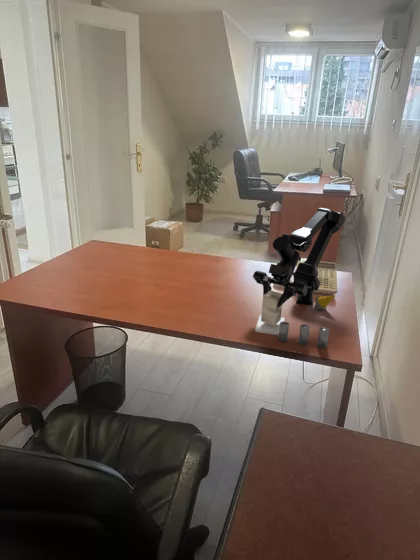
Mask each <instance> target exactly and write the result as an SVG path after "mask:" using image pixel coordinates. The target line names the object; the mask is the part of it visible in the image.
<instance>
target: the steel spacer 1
mask: <svg viewBox="0 0 420 560" xmlns="http://www.w3.org/2000/svg"><path fill="white" fill-rule="evenodd" d="M289 329H290V323H289V322H287V321H284V322H280V326H279V335H277V336H278V337H277V341H279V342H280V343H287V342H288V338H289Z"/></svg>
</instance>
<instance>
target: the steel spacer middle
mask: <svg viewBox="0 0 420 560" xmlns="http://www.w3.org/2000/svg"><path fill="white" fill-rule="evenodd" d="M310 329H311V327H310V326H309V325H308V324H303V323H302V324H300V326H299V333H298V340H297V341H298V342H297V343H298V345H300V346H307V345H308V343H309V336H310Z"/></svg>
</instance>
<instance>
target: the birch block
mask: <svg viewBox="0 0 420 560" xmlns="http://www.w3.org/2000/svg"><path fill="white" fill-rule="evenodd" d="M282 294H283V293H281V292H277V291H274V290H272V289H271V290H270V291H268V292H267V293H266V294H264V295H263V294H262V303H261V321H262V322H265V323H268V324H271V325H273V326H274V325H275V324H276V323H278V322H279V321H280V320H281V317H282V309H283V304H282V305H281V306H280V307H279V308H278V307H277V305H278V302H279V300H280V298H281V296H282Z"/></svg>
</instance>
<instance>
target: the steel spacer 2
mask: <svg viewBox="0 0 420 560" xmlns="http://www.w3.org/2000/svg"><path fill="white" fill-rule="evenodd" d="M318 329H319V331H318V336H317V337H318V338H317V342H316V343H317V344H316V346H317V347H318V348H319V349H326V348H327V346H328V340H329V335H330V329H329V328H328V327H326V326H320V327H319V328H318Z"/></svg>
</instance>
